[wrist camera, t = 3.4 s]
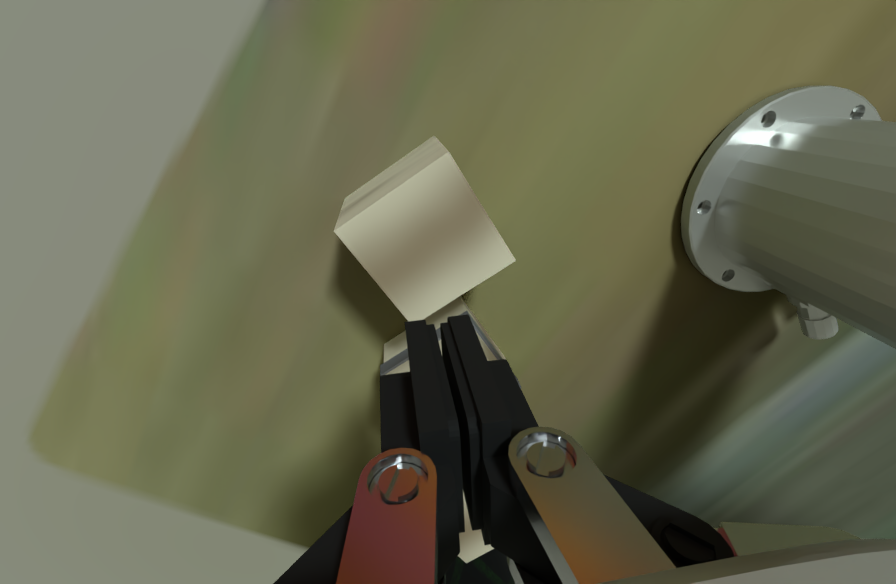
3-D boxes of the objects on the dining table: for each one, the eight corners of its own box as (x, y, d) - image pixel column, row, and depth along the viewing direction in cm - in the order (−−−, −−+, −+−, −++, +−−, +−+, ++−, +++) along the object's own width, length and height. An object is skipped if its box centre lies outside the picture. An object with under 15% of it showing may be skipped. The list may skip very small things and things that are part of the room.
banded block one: (507, 356, 30) (533, 415, 25) (433, 401, 31) (443, 467, 26) (460, 292, 28) (478, 342, 22) (380, 343, 29) (379, 403, 23)
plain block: (488, 223, 26) (515, 260, 21) (406, 277, 27) (412, 326, 21) (433, 135, 23) (448, 151, 18) (345, 197, 24) (333, 231, 19)
